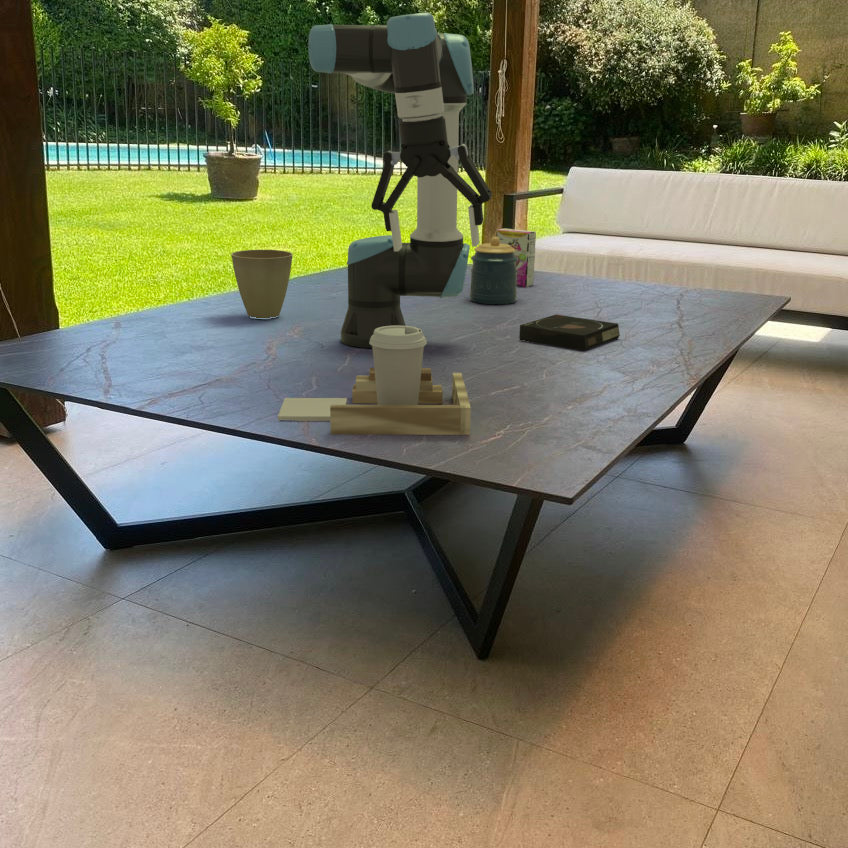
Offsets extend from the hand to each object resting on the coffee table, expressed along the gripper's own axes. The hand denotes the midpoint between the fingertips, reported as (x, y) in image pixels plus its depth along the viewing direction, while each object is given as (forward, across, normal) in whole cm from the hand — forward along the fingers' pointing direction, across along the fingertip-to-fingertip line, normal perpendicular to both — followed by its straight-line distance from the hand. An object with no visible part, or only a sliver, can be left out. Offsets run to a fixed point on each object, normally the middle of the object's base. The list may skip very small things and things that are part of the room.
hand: (436, 247), depth 165 cm
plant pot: (+30, -62, +58) cm, 90 cm away
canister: (+40, -11, +98) cm, 106 cm away
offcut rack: (+26, -7, -13) cm, 29 cm away
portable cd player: (+38, +14, +55) cm, 68 cm away
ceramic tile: (+24, -22, -14) cm, 35 cm away
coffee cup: (+26, -7, -13) cm, 30 cm away
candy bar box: (+44, -10, +126) cm, 134 cm away
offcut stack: (+27, -10, -3) cm, 28 cm away
